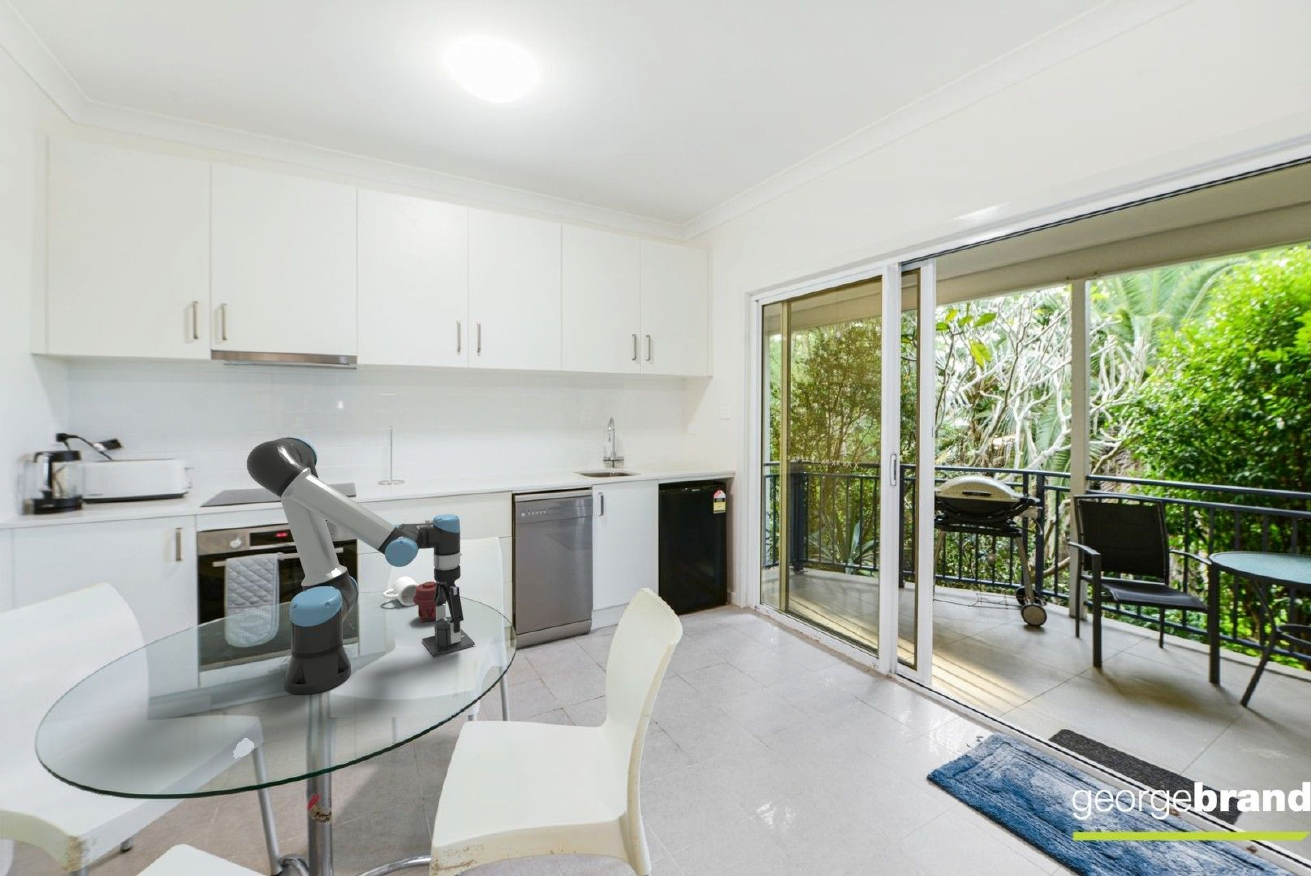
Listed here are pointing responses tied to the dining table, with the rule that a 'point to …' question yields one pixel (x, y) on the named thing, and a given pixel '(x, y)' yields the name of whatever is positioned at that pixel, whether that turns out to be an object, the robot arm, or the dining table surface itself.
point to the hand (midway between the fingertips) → (448, 633)
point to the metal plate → (442, 650)
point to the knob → (443, 632)
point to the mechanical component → (425, 601)
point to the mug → (403, 591)
